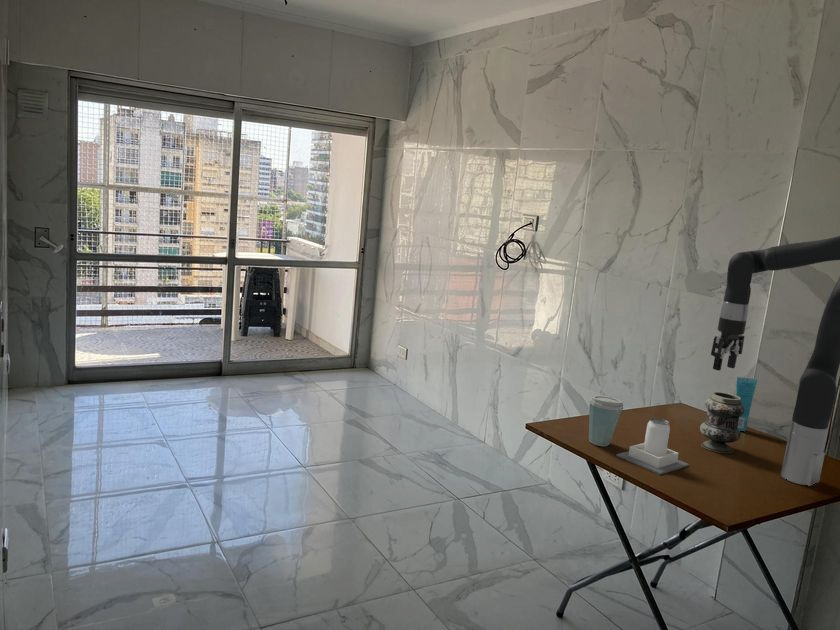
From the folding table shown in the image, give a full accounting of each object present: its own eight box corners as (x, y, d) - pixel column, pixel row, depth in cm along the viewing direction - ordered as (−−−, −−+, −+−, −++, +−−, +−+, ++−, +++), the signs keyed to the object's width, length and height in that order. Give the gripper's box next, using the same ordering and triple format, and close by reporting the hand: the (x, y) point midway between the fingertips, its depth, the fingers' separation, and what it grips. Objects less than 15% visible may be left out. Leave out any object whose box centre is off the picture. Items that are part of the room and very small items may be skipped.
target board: (688, 465, 204) (690, 454, 203) (659, 474, 194) (662, 463, 194) (645, 448, 215) (647, 437, 214) (616, 456, 206) (618, 444, 205)
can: (640, 459, 203) (646, 421, 201) (643, 453, 209) (650, 415, 207) (663, 465, 200) (669, 426, 198) (665, 458, 206) (672, 420, 204)
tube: (742, 427, 247) (752, 376, 243) (751, 432, 242) (761, 380, 239) (724, 426, 246) (734, 375, 242) (732, 431, 241) (742, 379, 238)
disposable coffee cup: (579, 435, 221) (586, 391, 219) (612, 438, 221) (619, 394, 218) (586, 447, 211) (593, 401, 208) (621, 451, 211) (628, 404, 208)
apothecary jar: (738, 447, 225) (748, 395, 221) (735, 458, 214) (746, 403, 211) (699, 438, 230) (708, 387, 227) (695, 448, 220) (704, 395, 216)
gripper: (733, 320, 200) (723, 374, 203) (756, 319, 209) (747, 370, 212) (709, 315, 206) (700, 367, 208) (733, 314, 214) (724, 363, 217)
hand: (723, 368), depth 210 cm, fingers open, 8 cm apart
